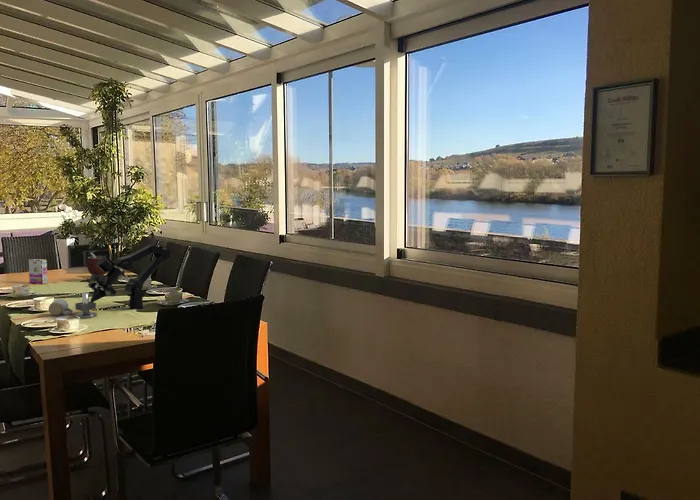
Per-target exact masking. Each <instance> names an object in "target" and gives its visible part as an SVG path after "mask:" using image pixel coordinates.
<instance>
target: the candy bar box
mask: <svg viewBox="0 0 700 500" xmlns="http://www.w3.org/2000/svg"><path fill="white" fill-rule="evenodd" d="M28 274H29V284H31V283H39V284H38V285H45V284H44V283H46V284H49V283H48V282H49V281H48V279H49V278H48V260H47V259H46V258H45V259H40V258H38V259H37V258H31V259H28Z"/></svg>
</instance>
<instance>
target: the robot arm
mask: <svg viewBox="0 0 700 500" xmlns="http://www.w3.org/2000/svg"><path fill="white" fill-rule="evenodd" d="M171 252H172V251H171V250H170V249H169V248H162V247H158V246H156V245H154V244H147V245H146V246H145V247H142V248H141V249H139V250H137V251H134V252H133V253H131V254H128V255H125V256H120V257H117V258H116V259H115V260H112V259H111V258H110V257H109V256H108V255H103V256H104V257H103V258H101V259H100V260H98V261H97V263H96V265H97V266H98V267H99V268H100V269H102V270H103V271H104V272H107V273H106V274H104V275H102V274H99V275H96V274H91V276H90V278H89V281H90V280H93V281H96V283H95V282H88V284H87V286H88V287H89V288H90V289H91V290H93V293H92V295H91V299H89V302H94V303H95V302H96V301H98V300H100V299H103V298H105V297H106V296H108V293H110V294H109V295H110V296H112V297H114V296H115V295H116V294H117V290H116V289H115V288H114V287H113V285H116V281H117V280H118V279H119V278H120V277H126V275H125V271H123V270H128V269H130V267H132V266H133V264H135V263H136V262H137V261H139V260H141V259H143V258H145V257H147V256H148V255H150V254H152V255H153V258H152V260H151V261H150V262H149V263H148V264H147V265H146V266H145V267H144V268H143V270H142V271H141V272H140V273H139V274H138V275H137V277H135V278H130V279H129V280H128V282H126V283H125V286H124V292H125V293H126V294H127V297H129V299H128V307H129V309H130V310H134V309H135V310H137V309H144V306H143V305H144V304H143V302H144V301H143V300H144V299H143V298H144V297H146V296H145V295H146V292H145V291H144V290H143V289H144V284H145V282H146V281H147V280H148V279H149V277H150V276H151V275H152V274H153V273H154V272H155V271H156V270H157V268H158V267H159V266H160V265H161V264H163V263H165V262H166V261H169V259H170V258H171V256H172V253H171Z"/></svg>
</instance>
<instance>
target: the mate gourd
mask: <svg viewBox="0 0 700 500" xmlns="http://www.w3.org/2000/svg"><path fill="white" fill-rule="evenodd" d="M89 254H90V256H88V257H87V260H86V261H87V262H86V264H87V265H86V267H87V272H89V274H90V275H92V274H96V275H99V274H102V275H104V276H105V275H106V274H107V273H108V272H104V271H103V270H102V269H100V268H99V267H98V266H97V265H96V263H97V261H98V260H100V259H101V258H103V257H104V256H105V255H95V254H94V253H92V252H89Z"/></svg>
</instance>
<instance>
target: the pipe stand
mask: <svg viewBox="0 0 700 500" xmlns="http://www.w3.org/2000/svg"><path fill="white" fill-rule="evenodd" d="M81 299H82V300H81V301H82V304H88V303H89V302H90V298H89V292H87V291H84V292H83V291H82V292H81ZM75 316H78V317H80V318H79V319H88V318H89V319H90V318H95V317H97V316H98V313H97V312H93V311H91V312H90V310H86V311H82V312H79V313H76V314H75V315H74V317H75Z"/></svg>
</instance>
